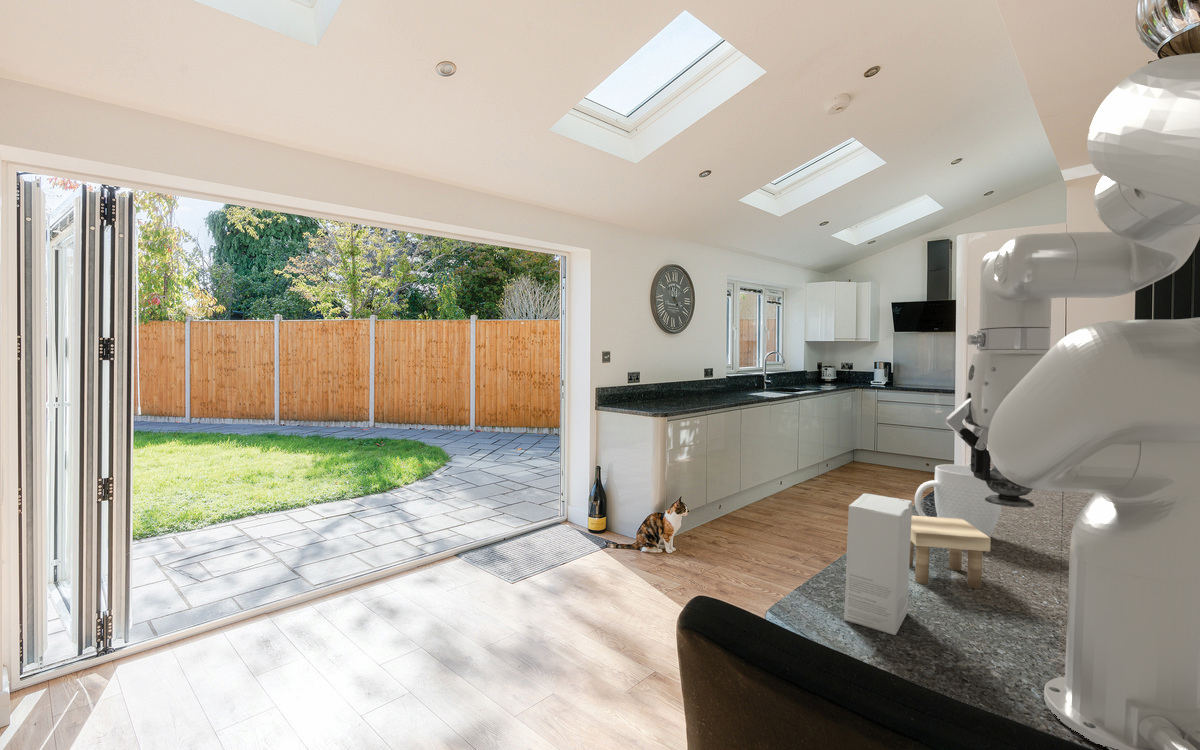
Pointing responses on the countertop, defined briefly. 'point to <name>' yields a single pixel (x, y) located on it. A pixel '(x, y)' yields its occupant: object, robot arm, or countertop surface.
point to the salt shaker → (1007, 491)
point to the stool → (948, 546)
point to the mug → (961, 497)
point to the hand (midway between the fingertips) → (1009, 478)
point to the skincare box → (878, 562)
